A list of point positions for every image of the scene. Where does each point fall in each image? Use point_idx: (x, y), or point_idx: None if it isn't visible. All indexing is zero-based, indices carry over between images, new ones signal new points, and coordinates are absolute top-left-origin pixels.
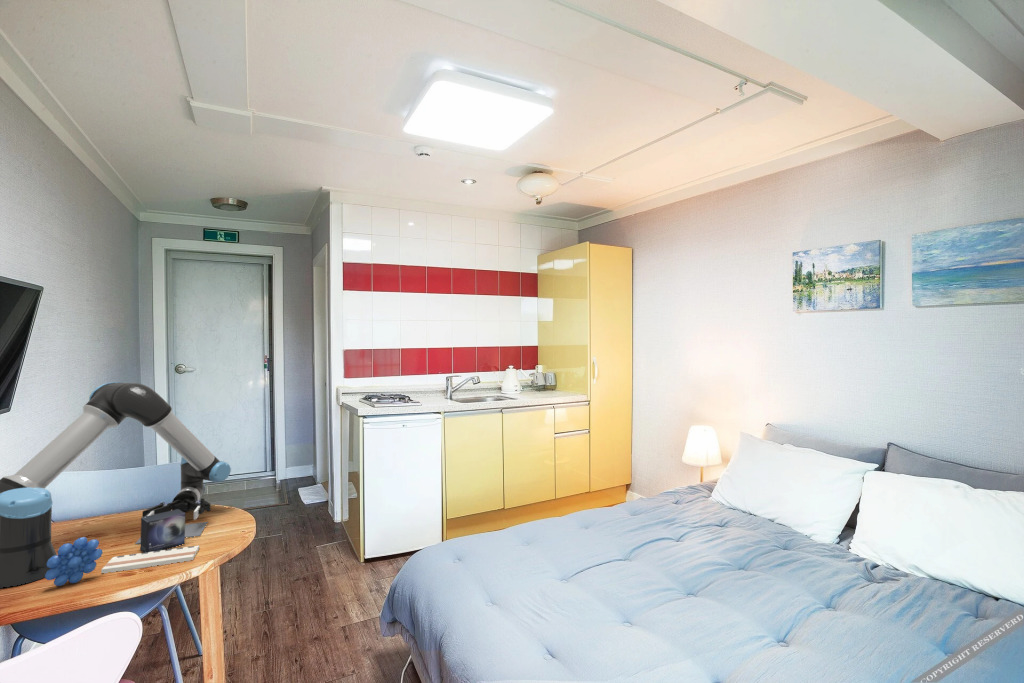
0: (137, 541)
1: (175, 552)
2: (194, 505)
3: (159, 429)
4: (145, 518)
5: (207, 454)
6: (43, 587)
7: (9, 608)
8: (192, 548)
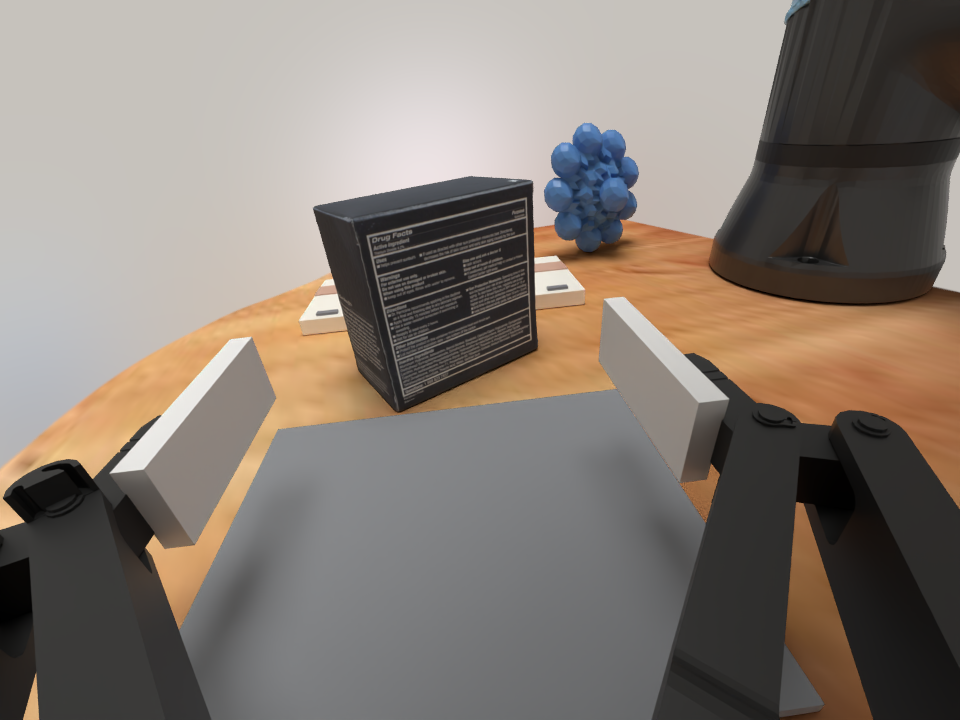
0: (625, 408)
1: None
2: (145, 622)
3: None
4: (500, 178)
5: None
6: (651, 246)
7: (633, 222)
8: (323, 308)
